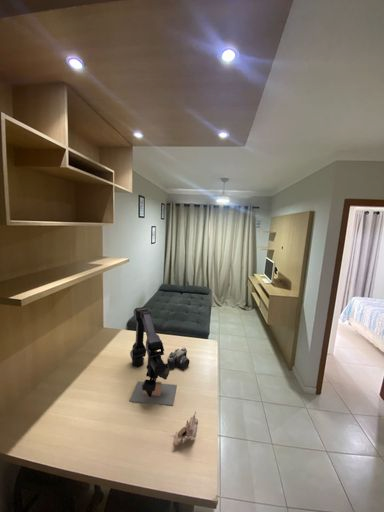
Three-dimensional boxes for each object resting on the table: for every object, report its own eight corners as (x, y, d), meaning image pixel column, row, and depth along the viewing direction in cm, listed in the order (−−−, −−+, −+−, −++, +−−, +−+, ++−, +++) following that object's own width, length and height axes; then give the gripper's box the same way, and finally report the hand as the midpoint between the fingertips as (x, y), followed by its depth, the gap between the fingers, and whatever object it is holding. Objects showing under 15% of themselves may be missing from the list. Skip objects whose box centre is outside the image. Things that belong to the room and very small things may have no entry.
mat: (129, 401, 108) (129, 400, 108) (137, 382, 122) (137, 381, 122) (173, 405, 107) (173, 404, 107) (176, 385, 121) (176, 384, 121)
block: (143, 394, 113) (143, 383, 112) (144, 391, 115) (144, 380, 114) (160, 395, 113) (160, 385, 112) (161, 392, 115) (161, 382, 114)
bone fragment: (187, 420, 102) (201, 406, 100) (197, 435, 98) (211, 421, 96) (167, 436, 89) (182, 420, 87) (178, 454, 85) (193, 438, 83)
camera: (176, 375, 130) (177, 360, 129) (165, 368, 136) (165, 353, 135) (194, 364, 142) (195, 350, 140) (182, 357, 148) (183, 344, 147)
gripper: (165, 376, 102) (164, 406, 104) (171, 353, 121) (170, 379, 123) (142, 374, 103) (141, 404, 105) (151, 352, 121) (150, 378, 123)
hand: (152, 390), depth 114 cm, fingers open, 8 cm apart
